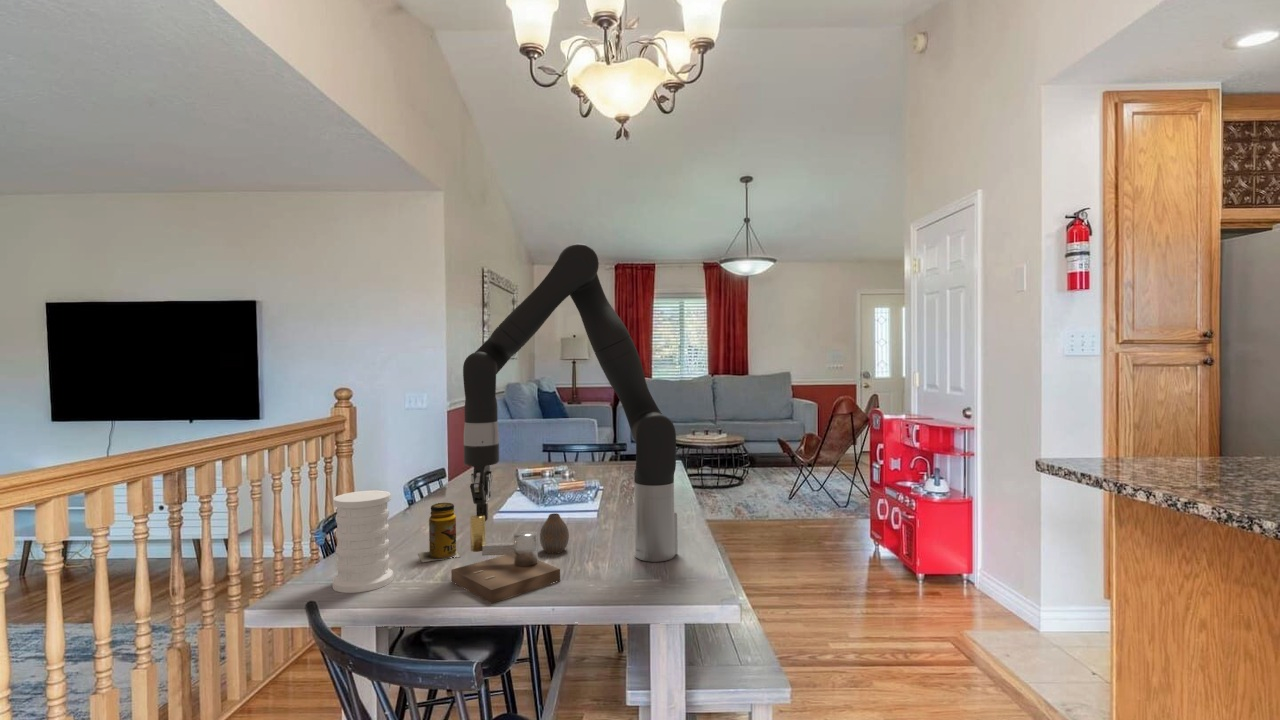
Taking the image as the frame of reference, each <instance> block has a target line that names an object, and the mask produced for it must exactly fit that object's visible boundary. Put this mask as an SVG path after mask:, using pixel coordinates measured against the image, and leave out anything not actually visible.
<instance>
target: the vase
mask: <svg viewBox="0 0 1280 720" xmlns="http://www.w3.org/2000/svg"><path fill="white" fill-rule="evenodd" d="M569 533H570V532H569V527H568V525H567V524H566V523H565V521H564V520H563V519H562V517H561V516H560V514H559V513H555V512H554V513H550V514H548V516H547V519H546V520H545V522H544V523H543V525H542V526H541V529H540V532H539V541H540V542H539V543H540V544H541V547H542V549H543V550H544V552H546V553H547V552H548V553H547V554H552V553H555V554H559V553H558V552H560V553H562V552H563V551H564V550H565V549H566V548H567V546H568V544H569V540H570V534H569Z"/></svg>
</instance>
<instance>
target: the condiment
mask: <svg viewBox="0 0 1280 720" xmlns="http://www.w3.org/2000/svg"><path fill="white" fill-rule="evenodd" d="M428 523H429V524H428V527H429V528H428V529H429V531H428V532H429V533H428V534H429V535H428V536H429V537H428V539H429V550H428V551H421V552H418V556H419V558H420V561H421V563H426V562H434V561H443V560H444V559H445V560H447V559H446V558H450V557H451V559H456V558H455V557H456V556H457V558H461V556H460V553H458V551H457V516H456V514H455V505H454V503H452V502H438V503H434V504H432V505H430V516H429V519H428ZM453 556H455V557H454V558H452V557H453Z"/></svg>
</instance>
